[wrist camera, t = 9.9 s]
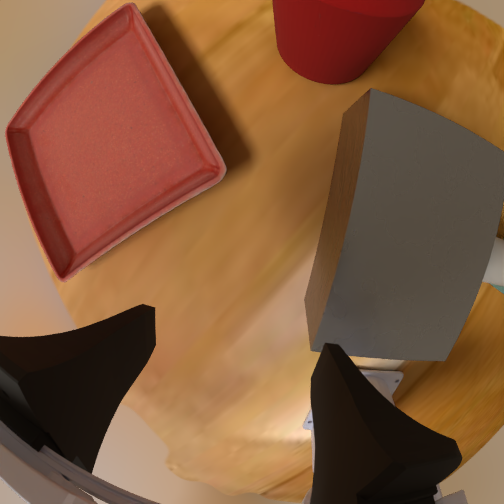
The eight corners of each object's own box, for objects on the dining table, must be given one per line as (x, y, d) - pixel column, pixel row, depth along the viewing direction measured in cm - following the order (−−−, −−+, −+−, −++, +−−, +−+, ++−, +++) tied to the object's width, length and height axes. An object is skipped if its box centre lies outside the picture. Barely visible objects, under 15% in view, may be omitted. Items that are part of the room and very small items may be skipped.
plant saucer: (147, 12, 15) (130, -3, 12) (239, 174, 19) (231, 175, 16) (24, 130, 19) (3, 130, 16) (81, 273, 23) (61, 286, 20)
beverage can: (347, 11, 13) (387, -87, 2) (380, 81, 15) (470, 9, 4) (264, 23, 15) (241, -89, 3) (293, 96, 16) (306, -2, 5)
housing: (412, 316, 20) (445, 361, 14) (304, 299, 20) (310, 350, 14) (456, 154, 16) (509, 155, 9) (343, 113, 16) (370, 88, 10)
